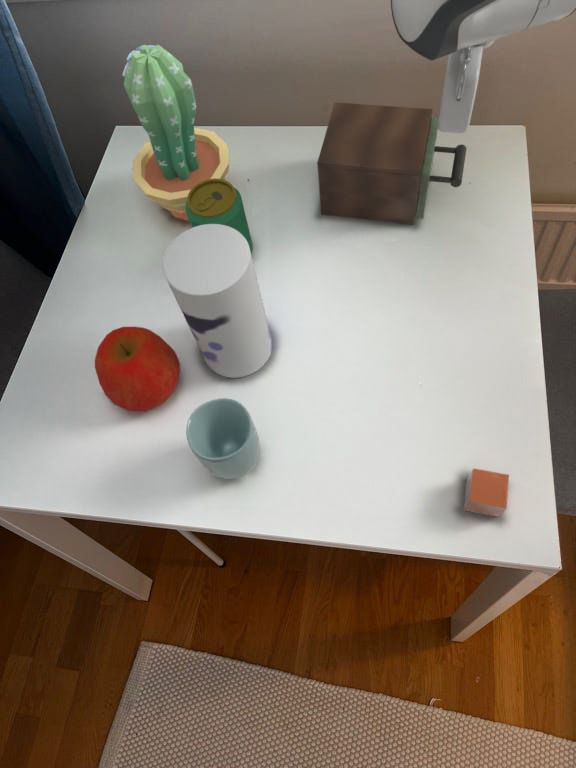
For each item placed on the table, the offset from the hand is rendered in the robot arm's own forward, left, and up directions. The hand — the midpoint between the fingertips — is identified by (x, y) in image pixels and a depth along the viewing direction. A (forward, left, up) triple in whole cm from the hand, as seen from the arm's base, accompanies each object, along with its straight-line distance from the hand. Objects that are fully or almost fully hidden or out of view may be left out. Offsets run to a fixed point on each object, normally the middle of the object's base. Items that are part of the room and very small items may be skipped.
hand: (454, 112), depth 77 cm
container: (+24, +32, -15) cm, 43 cm away
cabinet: (+10, 0, -15) cm, 18 cm away
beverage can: (+30, +16, -15) cm, 38 cm away
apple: (+35, +40, -15) cm, 55 cm away
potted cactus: (+39, +6, -15) cm, 43 cm away
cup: (+20, +48, -15) cm, 54 cm away
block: (-11, +47, -15) cm, 51 cm away
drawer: (+6, 0, -14) cm, 16 cm away
